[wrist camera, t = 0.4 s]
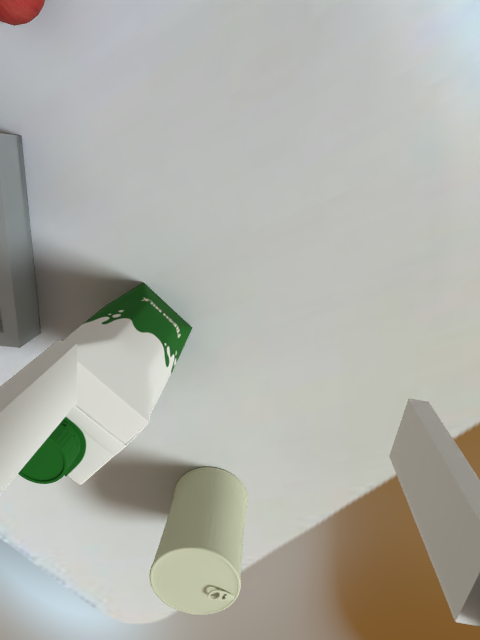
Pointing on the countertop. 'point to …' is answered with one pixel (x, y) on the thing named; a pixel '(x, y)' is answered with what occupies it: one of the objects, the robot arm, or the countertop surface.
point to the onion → (19, 10)
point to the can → (202, 543)
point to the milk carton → (112, 384)
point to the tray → (15, 250)
